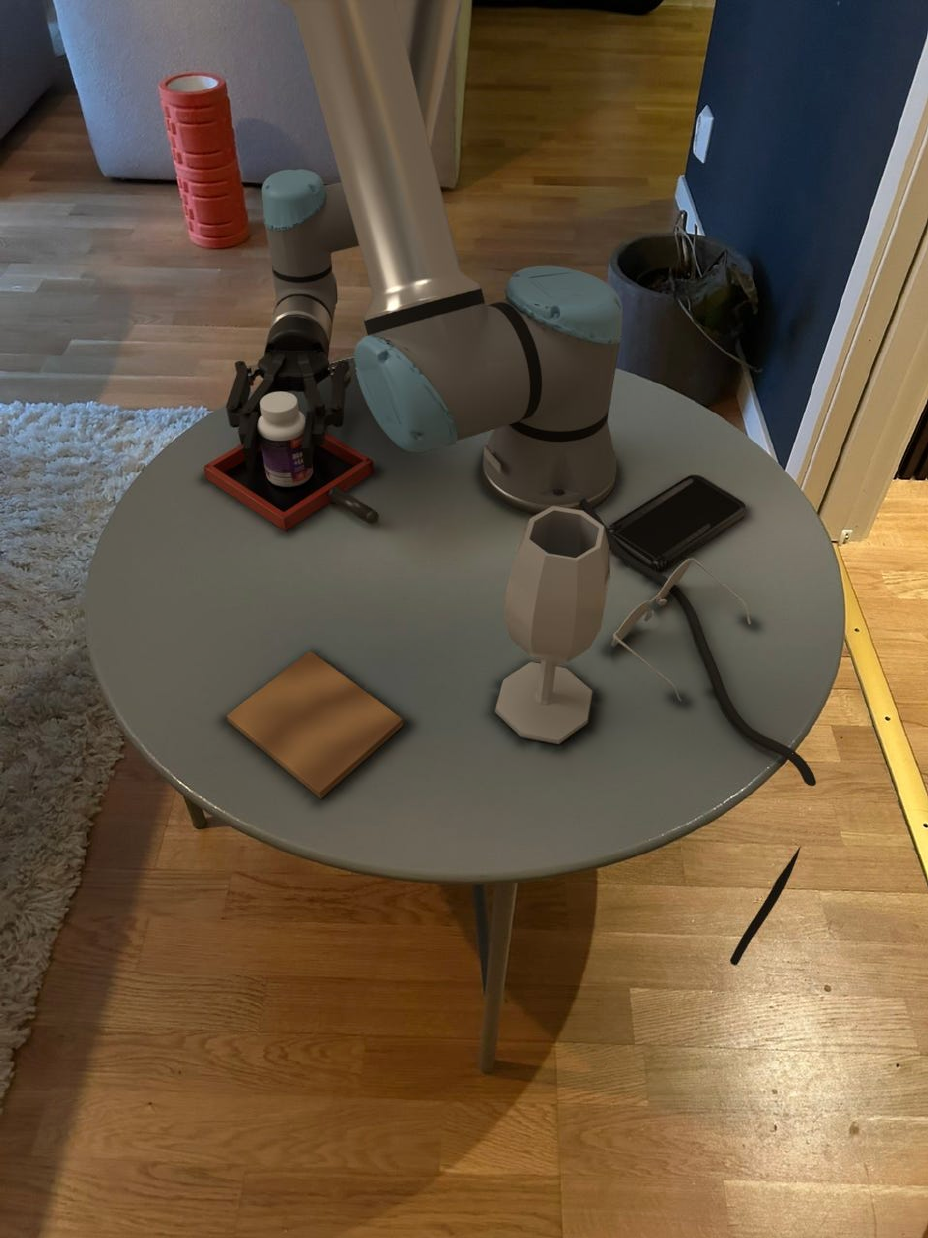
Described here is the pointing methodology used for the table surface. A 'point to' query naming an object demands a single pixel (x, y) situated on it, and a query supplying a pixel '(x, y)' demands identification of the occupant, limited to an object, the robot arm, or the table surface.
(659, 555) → the phone
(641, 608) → the sunglasses
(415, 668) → the table surface
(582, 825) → the table surface
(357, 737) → the wooden board
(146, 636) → the table surface
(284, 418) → the pill bottle
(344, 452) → the pan
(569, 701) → the wineglass
